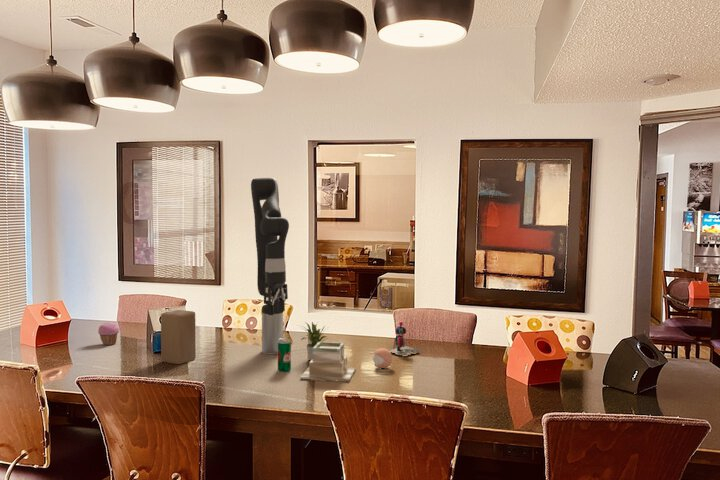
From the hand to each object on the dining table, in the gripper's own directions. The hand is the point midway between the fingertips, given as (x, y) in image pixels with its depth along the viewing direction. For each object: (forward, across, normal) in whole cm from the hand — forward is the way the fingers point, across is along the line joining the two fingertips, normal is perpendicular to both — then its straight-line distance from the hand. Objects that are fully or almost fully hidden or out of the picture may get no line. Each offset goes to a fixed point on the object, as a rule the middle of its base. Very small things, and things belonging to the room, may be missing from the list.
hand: (276, 313), depth 211 cm
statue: (+23, -46, +37) cm, 64 cm away
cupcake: (+20, -12, -93) cm, 96 cm away
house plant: (+23, -22, +4) cm, 32 cm away
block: (+22, -1, -46) cm, 50 cm away
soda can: (+23, -4, +1) cm, 23 cm away
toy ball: (+24, -21, +35) cm, 47 cm away
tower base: (+23, -5, +19) cm, 30 cm away
